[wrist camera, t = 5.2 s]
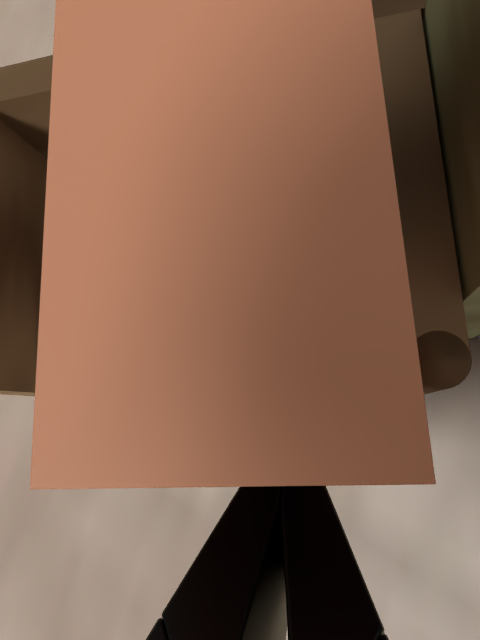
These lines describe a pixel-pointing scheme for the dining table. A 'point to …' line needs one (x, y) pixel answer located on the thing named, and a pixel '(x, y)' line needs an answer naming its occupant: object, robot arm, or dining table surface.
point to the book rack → (409, 168)
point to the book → (223, 253)
